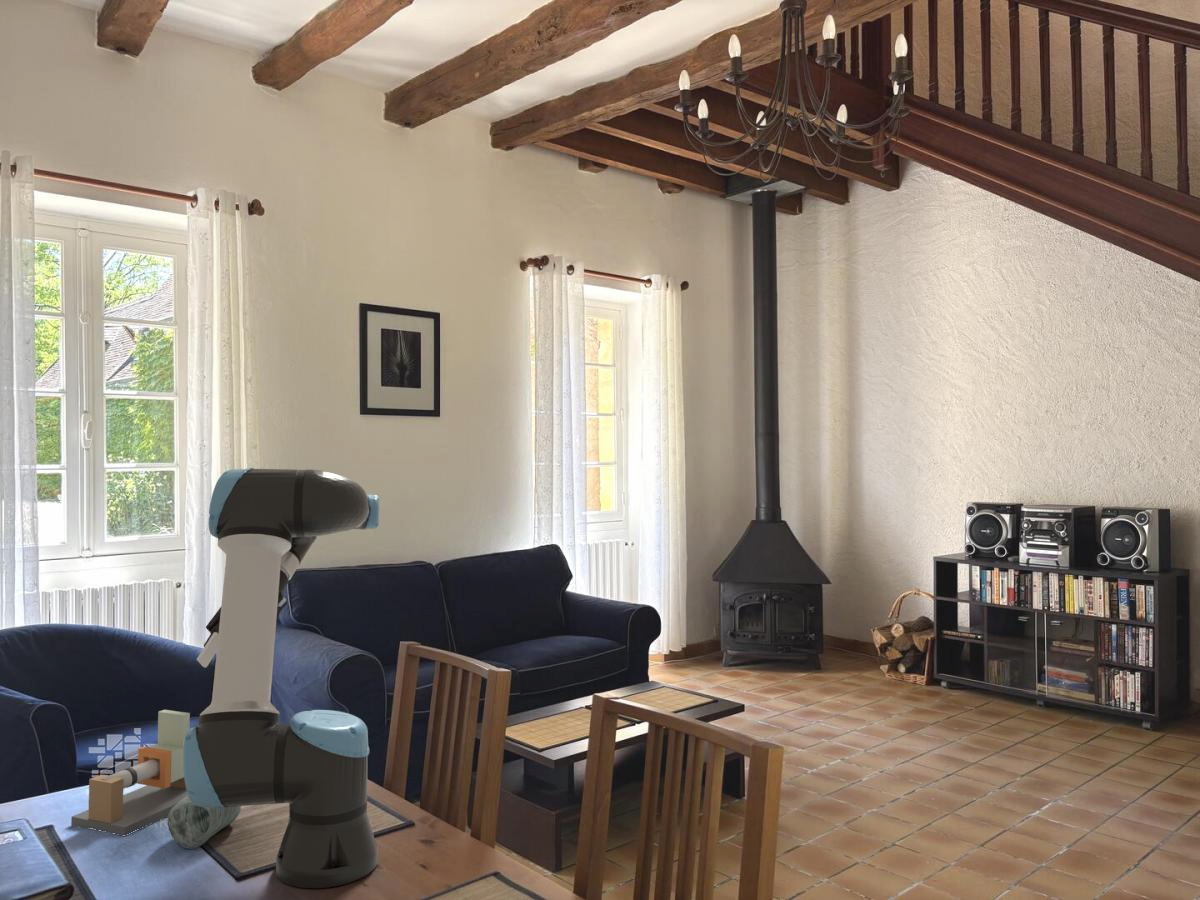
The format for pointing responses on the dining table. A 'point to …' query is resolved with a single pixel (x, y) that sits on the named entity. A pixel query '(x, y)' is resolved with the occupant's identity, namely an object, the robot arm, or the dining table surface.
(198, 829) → the grey rounded lump
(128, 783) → the rig
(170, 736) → the sleeve
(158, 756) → the ring
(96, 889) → the dining table surface
